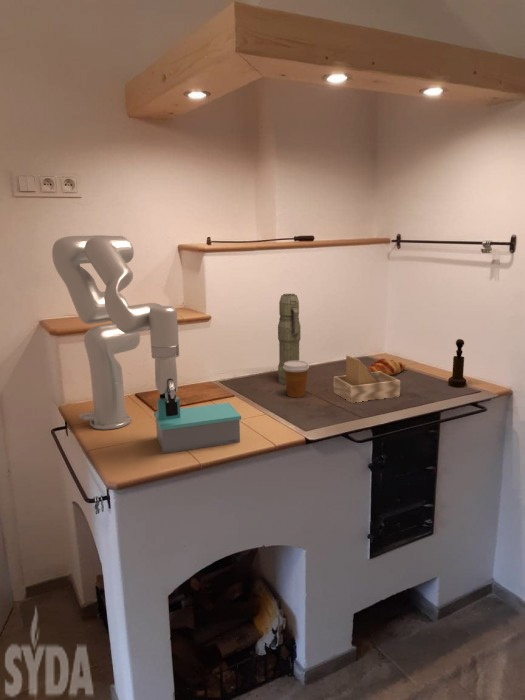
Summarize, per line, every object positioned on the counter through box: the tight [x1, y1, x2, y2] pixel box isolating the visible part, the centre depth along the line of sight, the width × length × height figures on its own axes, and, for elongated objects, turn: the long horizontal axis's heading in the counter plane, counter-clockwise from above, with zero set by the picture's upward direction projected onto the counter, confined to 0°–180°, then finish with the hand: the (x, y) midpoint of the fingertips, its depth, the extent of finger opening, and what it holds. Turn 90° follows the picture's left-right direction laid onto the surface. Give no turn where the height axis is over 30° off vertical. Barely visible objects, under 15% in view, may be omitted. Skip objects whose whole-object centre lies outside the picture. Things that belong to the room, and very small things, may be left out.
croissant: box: [366, 358, 407, 376], centre depth 220 cm, size 21×10×8 cm, turn 118°
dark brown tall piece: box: [447, 338, 467, 388], centre depth 201 cm, size 7×6×18 cm
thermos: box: [277, 293, 301, 386], centre depth 206 cm, size 9×12×35 cm
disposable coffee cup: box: [283, 360, 310, 398], centre depth 193 cm, size 10×10×12 cm
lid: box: [153, 396, 242, 430], centre depth 152 cm, size 23×13×8 cm, turn 109°
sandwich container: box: [345, 355, 380, 386], centre depth 192 cm, size 9×15×15 cm, turn 114°
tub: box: [155, 420, 241, 455], centre depth 154 cm, size 22×12×7 cm, turn 109°
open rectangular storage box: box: [333, 371, 401, 404], centre depth 193 cm, size 20×14×6 cm
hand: (169, 410), depth 149 cm, fingers open, 9 cm apart
